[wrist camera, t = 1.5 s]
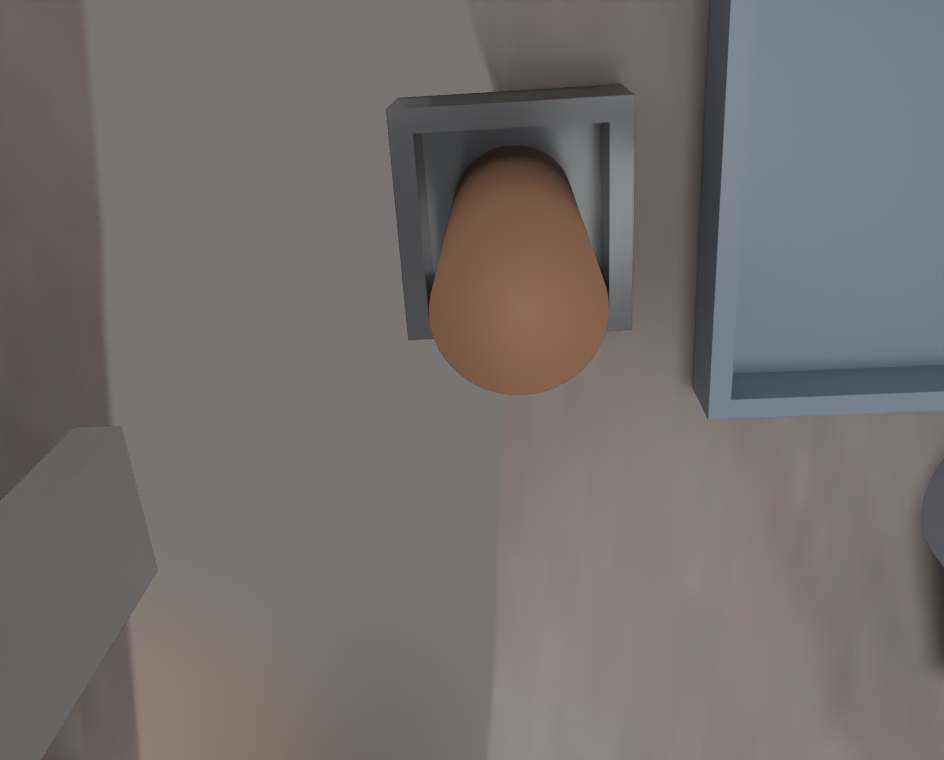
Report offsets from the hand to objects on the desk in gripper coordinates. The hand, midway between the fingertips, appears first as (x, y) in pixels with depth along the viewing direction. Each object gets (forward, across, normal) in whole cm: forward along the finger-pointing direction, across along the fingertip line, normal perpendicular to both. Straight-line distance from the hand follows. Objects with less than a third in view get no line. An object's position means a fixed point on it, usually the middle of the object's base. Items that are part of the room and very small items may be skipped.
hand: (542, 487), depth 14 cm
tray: (+21, +13, +1) cm, 25 cm away
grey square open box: (+21, 0, 0) cm, 21 cm away
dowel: (+20, 0, 0) cm, 20 cm away
